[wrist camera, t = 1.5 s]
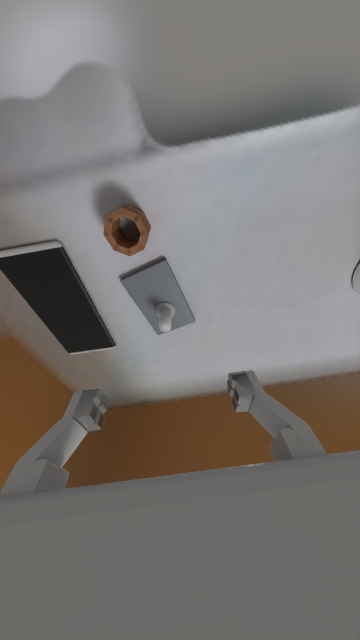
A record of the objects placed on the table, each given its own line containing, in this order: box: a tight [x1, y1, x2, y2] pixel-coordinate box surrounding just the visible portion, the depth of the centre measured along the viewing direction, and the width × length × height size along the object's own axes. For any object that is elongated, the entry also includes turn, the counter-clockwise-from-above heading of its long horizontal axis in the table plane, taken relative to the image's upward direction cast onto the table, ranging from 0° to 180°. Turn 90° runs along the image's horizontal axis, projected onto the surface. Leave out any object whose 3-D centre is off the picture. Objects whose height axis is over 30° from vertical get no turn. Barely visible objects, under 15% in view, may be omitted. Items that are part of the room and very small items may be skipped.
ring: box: [104, 205, 151, 256], centre depth 27 cm, size 6×6×5 cm
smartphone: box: [0, 240, 117, 355], centre depth 38 cm, size 13×27×2 cm, turn 8°
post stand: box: [120, 258, 195, 335], centre depth 35 cm, size 10×16×7 cm, turn 23°
